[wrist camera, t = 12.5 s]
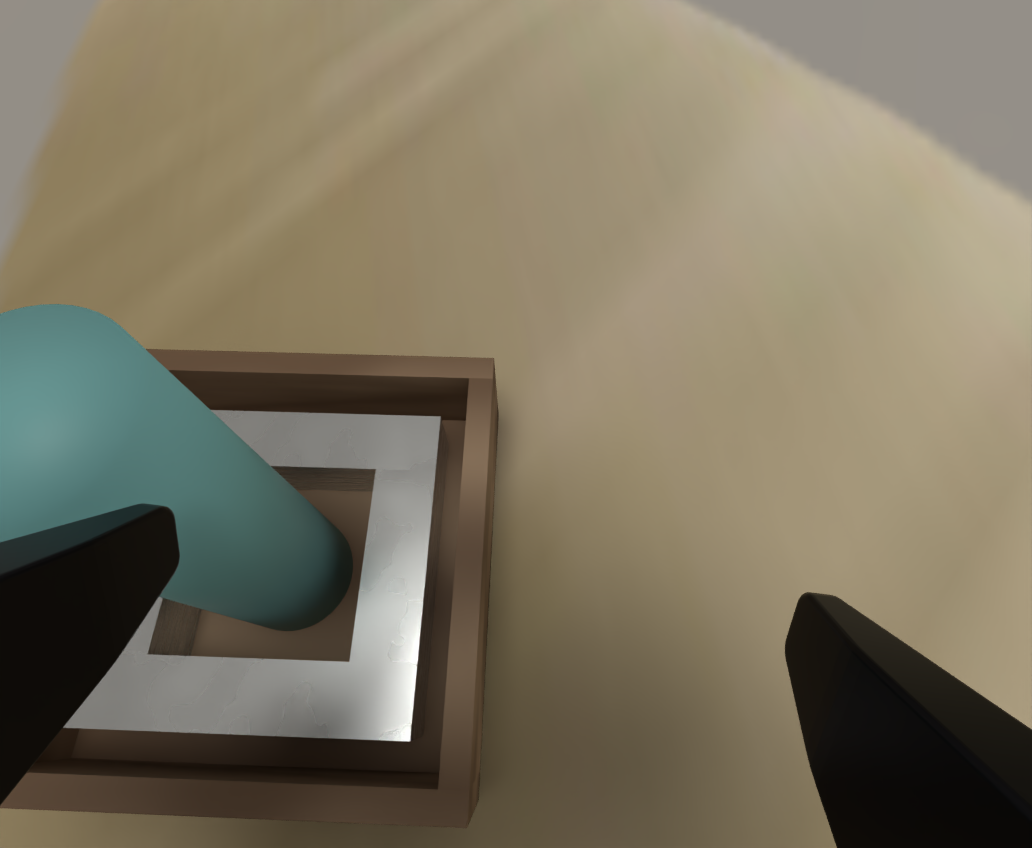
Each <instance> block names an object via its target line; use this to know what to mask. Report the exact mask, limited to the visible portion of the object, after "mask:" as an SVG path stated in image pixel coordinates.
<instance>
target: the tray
mask: <svg viewBox="0 0 1032 848" xmlns="http://www.w3.org/2000/svg"><path fill="white" fill-rule="evenodd" d="M146 350H147V351H148V352H149V353H150V354H151V355H152V356H153V357H154V358H155V359H156V360H157V361H158V362H160V363H161V364H162V365H163V366H164V367H165V368H166V369H167V370H168V371H169V372H170V373H171V374H172V375H173V376H175V377H176V378H177V379H178V380H179V381H180V382H181V383H182V384H183V385H184V386H185V387H186V388H187V389H189V390H190V391H191V392H192V393H193V394H194V395H195V396H196V397H197V398H198V399H199V400H200V401H201V402H202V403H204V404H205V405H206V406H207V407H208V408H209V409H210V410H211V411H212V412H213V413H214V414H215V415H216V416H217V417H219V418H220V419H221V420H222V421H223V422H224V423H225V424H226V425H227V426H228V427H229V428H230V429H231V430H232V431H234V432H235V433H236V434H237V435H238V436H239V437H240V438H241V439H242V440H243V441H244V442H245V443H246V444H248V445H249V446H250V447H251V448H252V449H253V450H254V451H255V452H256V453H257V454H258V455H259V456H260V457H261V458H263V459H264V460H265V461H266V462H267V463H268V464H269V465H270V466H271V467H272V468H273V469H274V470H275V471H276V472H278V473H279V474H280V475H281V476H282V477H283V478H284V479H285V480H286V481H287V482H288V483H289V484H290V485H291V486H293V487H294V488H295V489H296V490H297V491H298V492H299V493H300V494H301V495H302V496H303V497H304V498H305V499H306V500H308V501H309V502H310V503H311V504H312V505H313V506H314V507H315V508H316V509H317V510H318V511H319V512H320V513H322V514H323V515H324V516H325V517H326V518H327V519H328V520H329V521H330V522H331V523H332V524H333V525H334V526H335V527H337V528H338V529H339V531H340V532H341V533H342V534H343V535H344V537H345V538H346V540H347V542H348V544H349V546H350V549H351V552H352V558H353V572H352V578H351V582H350V585H349V588H348V590H347V592H346V594H345V596H344V598H343V599H342V601H341V602H340V604H339V605H338V606H337V607H336V608H335V610H334V611H332V612H331V613H330V614H329V615H328V616H327V617H326V618H324V619H323V620H321V621H320V622H318V623H316V624H314V625H312V626H310V627H307V628H304V629H301V630H295V631H279V630H274V629H270V628H267V627H263V626H260V625H256V624H253V623H249V622H246V621H242V620H239V619H235V618H232V617H228V616H225V615H221V614H217V613H214V612H210V611H207V610H203V609H200V608H196V607H193V606H189V605H186V604H182V603H179V602H175V601H172V600H168V599H165V598H161V597H159V598H158V599H157V601H156V602H155V604H154V606H153V607H152V609H151V610H150V612H149V613H148V615H147V616H146V618H145V619H144V621H143V622H142V624H141V625H140V627H139V628H138V630H137V631H136V633H135V634H134V636H133V637H132V639H131V640H130V642H129V643H128V645H127V646H126V648H125V649H124V651H123V652H122V653H121V655H120V656H119V658H118V659H117V661H116V662H115V663H114V665H113V666H112V667H111V668H110V670H109V671H108V672H107V674H106V675H105V676H104V678H103V679H102V680H101V681H100V682H99V684H98V685H97V686H96V687H95V689H94V690H93V691H92V692H91V694H90V695H89V696H88V697H87V699H86V700H85V701H84V702H83V704H82V705H81V706H80V707H79V709H78V710H77V711H76V712H75V714H74V715H73V716H72V717H71V718H70V720H69V721H68V722H67V723H66V725H65V726H64V727H63V728H62V730H61V731H60V732H59V733H58V735H57V736H56V737H55V738H54V740H53V741H52V742H51V743H50V745H49V746H48V747H47V748H46V750H45V751H44V752H43V753H42V754H41V756H40V757H39V758H38V759H37V761H36V762H35V763H34V764H33V766H32V767H31V768H30V769H29V771H28V772H27V773H26V774H25V776H24V777H23V778H22V779H21V781H20V782H19V783H18V784H17V786H16V787H15V788H14V789H13V790H12V792H11V793H10V794H9V795H8V797H7V798H6V799H5V800H4V802H3V803H2V804H1V805H0V808H11V809H34V810H58V811H81V812H105V813H128V814H151V815H175V816H198V817H222V818H245V819H269V820H292V821H315V822H339V823H362V824H386V825H409V826H433V827H456V828H467V827H468V824H469V822H470V819H471V817H472V815H473V812H474V810H475V807H476V805H477V802H478V800H479V782H480V762H481V743H482V723H483V704H484V685H485V665H486V646H487V626H488V607H489V587H490V568H491V548H492V529H493V510H494V490H495V471H496V451H497V432H498V403H497V390H496V378H495V365H494V358H468V357H430V356H391V355H353V354H315V353H276V352H238V351H199V350H161V349H146Z"/></svg>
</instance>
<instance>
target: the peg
mask: <svg viewBox="0 0 1032 848" xmlns="http://www.w3.org/2000/svg"><path fill="white" fill-rule="evenodd" d="M140 503H146V504H153V505H161V506H167V507H169V508H170V509H171V510H172V511H173V513H174V516H175V521H176V529H177V536H178V543H179V551H180V560H179V565H178V567H177V570H176V572H175V574H174V575H173V577H172V578H171V580H170V581H169V583H168V584H167V586H166V587H165V589H164V590H163V592H162V593H161V595H160V596H159V597H161V598H165V599H168V600H172V601H175V602H179V603H182V604H186V605H189V606H193V607H196V608H200V609H203V610H207V611H210V612H214V613H217V614H221V615H225V616H228V617H232V618H235V619H239V620H242V621H246V622H249V623H253V624H256V625H260V626H263V627H267V628H270V629H274V630H279V631H295V630H301V629H304V628H307V627H310V626H312V625H314V624H316V623H318V622H320V621H321V620H323V619H324V618H326V617H327V616H328V615H329V614H330V613H331V612H332V611H334V610H335V608H336V607H337V606H338V605H339V604H340V602H341V601H342V599H343V598H344V596H345V594H346V592H347V590H348V588H349V585H350V582H351V578H352V572H353V558H352V552H351V549H350V546H349V544H348V542H347V540H346V538H345V537H344V535H343V534H342V533H341V532H340V531H339V529H338V528H337V527H335V526H334V525H333V524H332V523H331V522H330V521H329V520H328V519H327V518H326V517H325V516H324V515H323V514H322V513H320V512H319V511H318V510H317V509H316V508H315V507H314V506H313V505H312V504H311V503H310V502H309V501H308V500H306V499H305V498H304V497H303V496H302V495H301V494H300V493H299V492H298V491H297V490H296V489H295V488H294V487H293V486H291V485H290V484H289V483H288V482H287V481H286V480H285V479H284V478H283V477H282V476H281V475H280V474H279V473H278V472H276V471H275V470H274V469H273V468H272V467H271V466H270V465H269V464H268V463H267V462H266V461H265V460H264V459H263V458H261V457H260V456H259V455H258V454H257V453H256V452H255V451H254V450H253V449H252V448H251V447H250V446H249V445H248V444H246V443H245V442H244V441H243V440H242V439H241V438H240V437H239V436H238V435H237V434H236V433H235V432H234V431H232V430H231V429H230V428H229V427H228V426H227V425H226V424H225V423H224V422H223V421H222V420H221V419H220V418H219V417H217V416H216V415H215V414H214V413H213V412H212V411H211V410H210V409H209V408H208V407H207V406H206V405H205V404H204V403H202V402H201V401H200V400H199V399H198V398H197V397H196V396H195V395H194V394H193V393H192V392H191V391H190V390H189V389H187V388H186V387H185V386H184V385H183V384H182V383H181V382H180V381H179V380H178V379H177V378H176V377H175V376H173V375H172V374H171V373H170V372H169V371H168V370H167V369H166V368H165V367H164V366H163V365H162V364H161V363H160V362H158V361H157V360H156V359H155V358H154V357H153V356H152V355H151V354H150V353H149V352H148V351H147V350H146V349H145V348H143V347H142V346H141V345H140V344H139V343H138V342H137V341H136V340H135V339H134V338H133V337H132V336H131V335H130V334H128V333H127V332H126V331H125V330H124V329H123V328H122V327H121V326H120V325H118V324H117V323H116V322H114V321H113V320H112V319H110V318H108V317H106V316H104V315H103V314H101V313H99V312H96V311H93V310H90V309H87V308H83V307H78V306H73V305H61V304H49V305H36V306H29V307H23V308H19V309H15V310H11V311H7V312H4V313H1V314H0V542H3V541H7V540H10V539H14V538H17V537H21V536H25V535H28V534H32V533H35V532H39V531H42V530H46V529H50V528H53V527H57V526H60V525H64V524H68V523H71V522H75V521H78V520H82V519H86V518H89V517H93V516H96V515H100V514H104V513H107V512H111V511H114V510H118V509H121V508H125V507H129V506H132V505H136V504H140Z"/></svg>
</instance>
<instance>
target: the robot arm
mask: <svg viewBox="0 0 1032 848" xmlns="http://www.w3.org/2000/svg"><path fill="white" fill-rule="evenodd" d="M179 560H180V551H179V543H178V536H177V529H176V521H175V516H174V513H173V511H172V510H171V509H170V508H169V507H167V506H161V505H153V504H146V503H140V504H136V505H132V506H129V507H125V508H121V509H118V510H114V511H111V512H107V513H104V514H100V515H96V516H93V517H89V518H86V519H82V520H78V521H75V522H71V523H68V524H64V525H60V526H57V527H53V528H50V529H46V530H42V531H39V532H35V533H32V534H28V535H25V536H21V537H17V538H14V539H10V540H7V541H3V542H0V805H1V804H2V803H3V802H4V800H5V799H6V798H7V797H8V795H9V794H10V793H11V792H12V790H13V789H14V788H15V787H16V786H17V784H18V783H19V782H20V781H21V779H22V778H23V777H24V776H25V774H26V773H27V772H28V771H29V769H30V768H31V767H32V766H33V764H34V763H35V762H36V761H37V759H38V758H39V757H40V756H41V754H42V753H43V752H44V751H45V750H46V748H47V747H48V746H49V745H50V743H51V742H52V741H53V740H54V738H55V737H56V736H57V735H58V733H59V732H60V731H61V730H62V728H63V727H64V726H65V725H66V723H67V722H68V721H69V720H70V718H71V717H72V716H73V715H74V714H75V712H76V711H77V710H78V709H79V707H80V706H81V705H82V704H83V702H84V701H85V700H86V699H87V697H88V696H89V695H90V694H91V692H92V691H93V690H94V689H95V687H96V686H97V685H98V684H99V682H100V681H101V680H102V679H103V678H104V676H105V675H106V674H107V672H108V671H109V670H110V668H111V667H112V666H113V665H114V663H115V662H116V661H117V659H118V658H119V656H120V655H121V653H122V652H123V651H124V649H125V648H126V646H127V645H128V643H129V642H130V640H131V639H132V637H133V636H134V634H135V633H136V631H137V630H138V628H139V627H140V625H141V624H142V622H143V621H144V619H145V618H146V616H147V615H148V613H149V612H150V610H151V609H152V607H153V606H154V604H155V602H156V601H157V599H158V598H159V596H160V595H161V593H162V592H163V590H164V589H165V587H166V586H167V584H168V583H169V581H170V580H171V578H172V577H173V575H174V574H175V572H176V570H177V567H178V565H179ZM785 657H786V662H787V667H788V671H789V676H790V680H791V685H792V689H793V694H794V698H795V703H796V707H797V712H798V716H799V721H800V725H801V730H802V734H803V739H804V743H805V748H806V752H807V756H808V760H809V764H810V767H811V771H812V774H813V777H814V780H815V784H816V787H817V790H818V793H819V796H820V799H821V802H822V805H823V807H824V810H825V813H826V816H827V819H828V822H829V825H830V828H831V831H832V834H833V837H834V840H835V843H836V846H837V848H1032V729H1030V728H1029V727H1027V726H1026V725H1024V724H1023V723H1021V722H1020V721H1019V720H1017V719H1016V718H1014V717H1013V716H1011V715H1010V714H1008V713H1007V712H1005V711H1004V710H1002V709H1001V708H999V707H998V706H997V705H995V704H994V703H992V702H991V701H989V700H988V699H986V698H985V697H983V696H982V695H980V694H979V693H977V692H976V691H975V690H973V689H972V688H970V687H969V686H967V685H966V684H964V683H963V682H961V681H960V680H958V679H957V678H955V677H954V676H952V675H951V674H950V673H948V672H947V671H945V670H944V669H942V668H941V667H939V666H938V665H936V664H935V663H933V662H932V661H930V660H929V659H928V658H926V657H925V656H923V655H922V654H920V653H919V652H917V651H916V650H914V649H913V648H911V647H910V646H908V645H907V644H906V643H904V642H903V641H901V640H900V639H898V638H897V637H895V636H894V635H892V634H891V633H889V632H888V631H886V630H885V629H884V628H882V627H881V626H879V625H878V624H876V623H875V622H873V621H872V620H870V619H869V618H867V617H866V616H864V615H863V614H861V613H860V612H859V611H857V610H856V609H854V608H853V607H851V606H850V605H848V604H847V603H845V602H844V601H842V600H841V599H839V598H838V597H836V596H833V595H827V594H819V593H811V592H806V593H804V594H803V595H801V597H800V598H799V600H798V603H797V606H796V609H795V612H794V615H793V619H792V622H791V625H790V628H789V631H788V635H787V638H786V643H785Z"/></svg>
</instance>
